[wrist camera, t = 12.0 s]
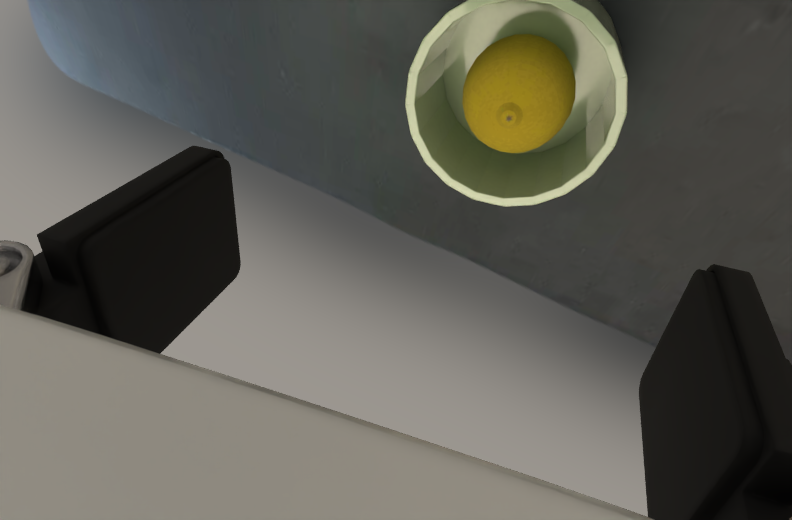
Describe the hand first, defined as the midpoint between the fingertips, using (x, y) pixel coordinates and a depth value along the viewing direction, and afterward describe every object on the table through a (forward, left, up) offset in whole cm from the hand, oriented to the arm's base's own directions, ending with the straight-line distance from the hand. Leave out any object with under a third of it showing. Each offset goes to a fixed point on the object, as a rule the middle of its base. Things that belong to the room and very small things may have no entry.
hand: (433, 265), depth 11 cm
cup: (0, +2, -24) cm, 24 cm away
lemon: (0, +2, -23) cm, 23 cm away
